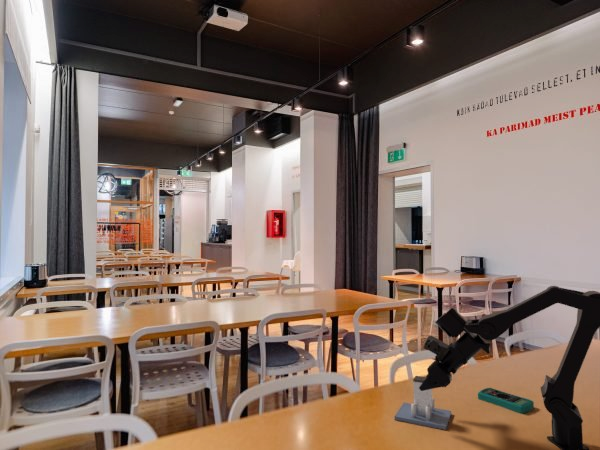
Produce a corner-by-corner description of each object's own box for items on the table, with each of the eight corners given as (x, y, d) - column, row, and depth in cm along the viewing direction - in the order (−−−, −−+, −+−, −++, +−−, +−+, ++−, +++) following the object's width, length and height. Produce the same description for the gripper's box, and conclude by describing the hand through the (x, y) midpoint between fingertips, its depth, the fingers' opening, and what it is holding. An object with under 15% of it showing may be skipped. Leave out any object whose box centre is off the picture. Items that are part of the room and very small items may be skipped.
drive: (432, 412, 116) (431, 378, 116) (430, 417, 112) (429, 381, 113) (416, 409, 118) (415, 375, 118) (414, 414, 115) (413, 379, 115)
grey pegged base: (451, 414, 117) (451, 398, 117) (445, 430, 107) (445, 413, 107) (403, 405, 123) (403, 390, 123) (394, 419, 114) (394, 403, 114)
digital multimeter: (488, 394, 132) (488, 385, 132) (535, 409, 120) (534, 399, 120) (475, 399, 128) (475, 390, 128) (523, 416, 116) (522, 405, 116)
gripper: (445, 321, 122) (410, 353, 126) (434, 334, 105) (395, 371, 110) (474, 350, 118) (436, 382, 122) (467, 368, 101) (425, 404, 106)
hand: (423, 384), depth 115 cm, fingers open, 9 cm apart
